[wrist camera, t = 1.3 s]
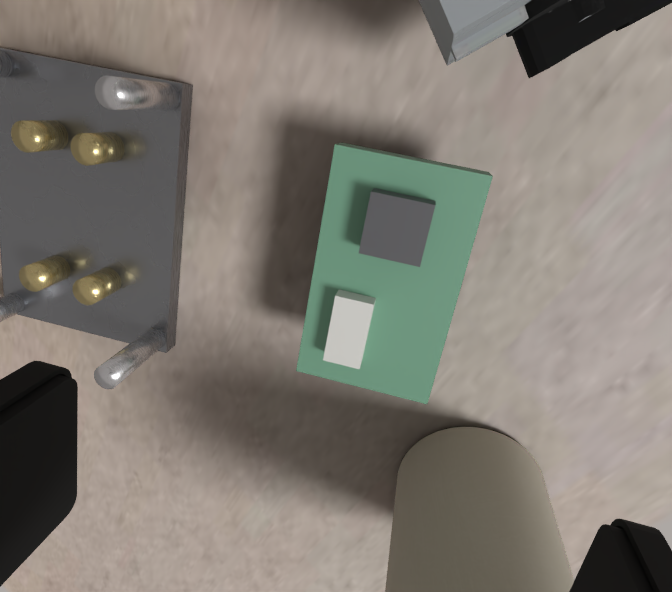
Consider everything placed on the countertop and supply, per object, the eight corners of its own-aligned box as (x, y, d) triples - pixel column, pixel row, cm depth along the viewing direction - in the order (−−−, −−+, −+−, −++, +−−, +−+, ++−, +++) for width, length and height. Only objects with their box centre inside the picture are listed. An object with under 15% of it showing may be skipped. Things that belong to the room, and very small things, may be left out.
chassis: (3, 47, 25) (-108, 30, 20) (192, 84, 24) (126, 76, 19) (18, 305, 30) (-68, 343, 25) (174, 345, 29) (119, 393, 24)
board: (341, 142, 21) (329, 145, 18) (488, 171, 20) (495, 179, 18) (304, 356, 24) (290, 381, 22) (427, 387, 24) (426, 416, 21)
